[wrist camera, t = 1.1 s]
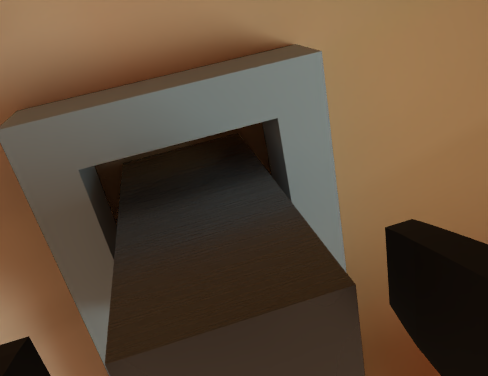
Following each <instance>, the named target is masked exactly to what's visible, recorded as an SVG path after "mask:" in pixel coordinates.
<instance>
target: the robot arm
mask: <svg viewBox="0 0 488 376" xmlns="http://www.w3.org/2000/svg"><path fill="white" fill-rule="evenodd" d="M385 233H386V250H387V267H388V284H389V301H390V305H391V307H392V309H393V310H394V312H395V313H396V315H397V317H398V318H399V320H400V321H401V323H402V324H403V326H404V328H405V329H406V331H407V332H408V334H409V335H410V337H411V338H412V340H413V341H414V342H415V344H416V345H417V347H418V348H419V349H420V350H421V352H422V353H423V354H424V355H425V357H426V358H427V359H428V360H429V361H430V363H431V364H432V365H433V366H434V367H435V369H436V370H437V371H438V372H439V373H440V375H441V376H488V244H485V243H482V242H479V241H477V240H474V239H471V238H468V237H465V236H462V235H460V234H457V233H454V232H451V231H448V230H445V229H442V228H439V227H436V226H433V225H430V224H427V223H424V222H420V221H417V220H413V219H411V220H408V221H405V222H401V223H398V224H395V225H392V226H388V227H385ZM0 376H50V374H49V372H48V370H47V368H46V367H45V365H44V363H43V361H42V359H41V357H40V356H39V354H38V352H37V350H36V348H35V347H34V345H33V343H32V341H31V339H30V338H29V336H28V337H25V338H22V339H19V340H15V341H12V342H9V343H6V344H2V345H0Z"/></svg>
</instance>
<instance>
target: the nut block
mask: <svg viewBox="0 0 488 376" xmlns="http://www.w3.org/2000/svg"><path fill="white" fill-rule="evenodd" d="M105 367H106V369H107V371H108V373H109V375H110V376H365V371H364V362H363V352H362V342H361V332H360V322H359V313H358V303H357V293H356V285H355V283H354V282H353V281H352V279H351V278H350V277H349V276H348V274H347V273H346V272H345V270H344V269H343V268H342V267H341V265H340V264H339V263H338V261H337V260H336V259H335V258H334V256H333V255H332V254H331V252H330V251H329V250H328V249H327V247H326V246H325V245H324V243H323V242H322V241H321V240H320V238H319V237H318V236H317V234H316V233H315V232H314V230H313V229H312V228H311V227H310V225H309V224H308V223H307V221H306V220H305V219H304V218H303V216H302V215H301V214H300V212H299V211H298V210H297V209H296V207H295V206H294V205H293V203H292V202H291V201H290V200H289V198H288V197H287V196H286V194H285V193H284V192H283V190H282V189H281V188H280V187H279V185H278V184H277V183H276V181H275V180H274V179H273V178H272V176H271V175H270V174H269V172H268V171H267V170H266V169H265V167H264V166H263V165H262V163H261V162H260V161H259V160H258V158H257V157H256V156H255V154H254V153H253V152H252V151H251V149H250V148H249V147H248V145H247V144H246V143H245V141H244V140H243V139H242V138H241V136H240V135H239V134H238V133H237V134H233V135H229V136H226V137H222V138H218V139H214V140H210V141H206V142H203V143H199V144H195V145H191V146H187V147H184V148H180V149H176V150H172V151H168V152H164V153H161V154H157V155H153V156H149V157H145V158H142V159H138V160H134V161H130V162H126V163H123V167H122V178H121V189H120V200H119V211H118V222H117V233H116V244H115V255H114V266H113V277H112V288H111V300H110V311H109V322H108V333H107V344H106V355H105Z"/></svg>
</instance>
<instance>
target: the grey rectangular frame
mask: <svg viewBox="0 0 488 376" xmlns="http://www.w3.org/2000/svg"><path fill="white" fill-rule="evenodd" d="M260 122H262V124H263V130H264V135H265V141H266V146H267V152H268V157H269V163H270V168H271V174H272V178H273V179H274V180H275V181H276V183H277V184H278V185H279V187H280V188H281V189H282V190H283V192H284V193H285V194H286V196H287V197H288V198H289V200H290V201H291V202H292V203H293V205H294V206H295V207H296V209H297V210H298V211H299V212H300V214H301V215H302V216H303V218H304V219H305V220H306V221H307V223H308V224H309V225H310V227H311V228H312V229H313V230H314V232H315V233H316V234H317V236H318V237H319V238H320V240H321V241H322V242H323V243H324V245H325V246H326V247H327V249H328V250H329V251H330V252H331V254H332V255H333V256H334V258H335V259H336V260H337V261H338V263H339V264H340V265H341V267H342V268H343V269H344V270H345V272H346V264H345V255H344V246H343V237H342V228H341V219H340V210H339V202H338V193H337V184H336V175H335V166H334V157H333V148H332V139H331V130H330V121H329V112H328V103H327V95H326V86H325V77H324V68H323V59H322V51H319V50H315V49H311V48H308V47H304V46H300V45H296V44H295V45H291V46H286V47H282V48H278V49H274V50H270V51H266V52H261V53H257V54H253V55H249V56H245V57H240V58H236V59H232V60H228V61H224V62H220V63H215V64H211V65H207V66H203V67H199V68H195V69H190V70H186V71H182V72H178V73H174V74H169V75H165V76H161V77H157V78H153V79H149V80H144V81H140V82H136V83H132V84H128V85H124V86H119V87H115V88H111V89H107V90H103V91H98V92H94V93H90V94H86V95H82V96H78V97H73V98H69V99H65V100H61V101H57V102H52V103H48V104H44V105H40V106H36V107H32V108H27V109H23V110H19V111H16V112H15V113H14V114H13V115H12V116H11V117H10V118H8V119H7V120H6V121H5V122H4V123H3V124H2V125H1V126H0V143H1V145H2V147H3V149H4V152H5V154H6V156H7V158H8V160H9V162H10V164H11V167H12V169H13V171H14V173H15V175H16V177H17V179H18V182H19V184H20V186H21V188H22V190H23V192H24V194H25V197H26V199H27V201H28V203H29V205H30V207H31V209H32V212H33V214H34V216H35V218H36V220H37V222H38V224H39V227H40V229H41V231H42V233H43V235H44V237H45V239H46V242H47V244H48V246H49V248H50V250H51V252H52V254H53V257H54V259H55V261H56V263H57V265H58V267H59V269H60V272H61V274H62V276H63V278H64V280H65V282H66V284H67V287H68V289H69V291H70V293H71V295H72V297H73V299H74V302H75V304H76V306H77V308H78V310H79V312H80V314H81V317H82V319H83V321H84V323H85V325H86V327H87V329H88V332H89V334H90V336H91V338H92V340H93V342H94V344H95V347H96V349H97V351H98V353H99V355H100V357H101V359H102V362H103V364H104V366H105V355H106V344H107V333H108V322H109V311H110V300H111V288H112V277H113V266H114V255H115V244H116V233H117V225H116V223H115V220H114V217H113V215H112V212H111V209H110V207H109V204H108V201H107V199H106V196H105V193H104V191H103V188H102V185H101V183H100V180H99V177H98V175H97V172H96V169H95V167H94V166H95V165H99V164H103V163H107V162H110V161H114V160H118V159H122V158H126V157H130V156H133V155H137V154H141V153H145V152H149V151H153V150H157V149H160V148H164V147H168V146H172V145H176V144H180V143H183V142H187V141H191V140H195V139H199V138H203V137H206V136H210V135H214V134H218V133H222V132H226V131H230V130H233V129H237V128H241V127H245V126H249V125H253V124H256V123H260ZM105 368H106V367H105ZM106 370H107V369H106ZM107 372H108V371H107ZM108 374H109V373H108ZM109 376H110V375H109Z"/></svg>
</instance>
